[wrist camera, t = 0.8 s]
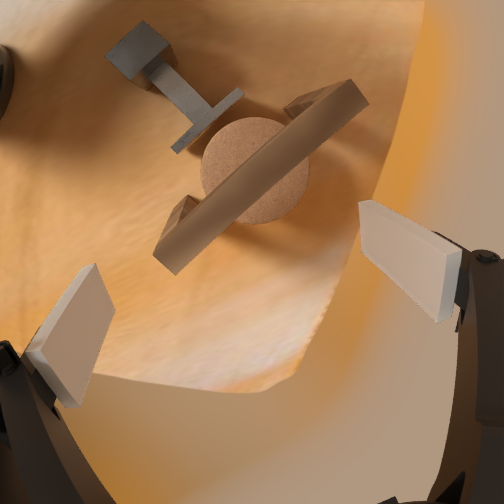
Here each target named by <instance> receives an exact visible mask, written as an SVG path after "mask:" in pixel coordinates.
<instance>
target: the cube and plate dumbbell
mask: <svg viewBox="0 0 504 504" xmlns="http://www.w3.org/2000/svg"><path fill="white" fill-rule="evenodd" d="M105 57H106V58H107V59H108V60H109V61H110V62H111V63H112V64H113V65H114V66H115V67H116V68H117V69H118V70H119V71H120V72H121V73H122V74H123V75H124V76H125V77H127V78H128V79H129V80H130V81H131V82H133V83H134V84H136V85H138V86H139V87H141V88H142V89H144V90H145V91H147V90H148V89H149V88H150V87H151V86H152V85H155V86H156V87H157V88H158V89H159V90H160V91H161V92H162V93H163V94H164V95H166V96H167V97H168V98H169V99H170V100H171V101H172V102H173V103H174V104H175V105H176V106H177V107H178V108H179V109H180V110H181V111H182V112H183V113H184V114H185V115H186V116H187V117H188V118H189V119H190V121H191V122H192V123H193V124H194V125H193V126H192V127H191V128H190V129H189V130H188V131H187V132H186V133H185V134H184V135H183V136H182V137H181V138H180V139H179V140H178V141H177V142H175V143H174V144H173V145H172V146H171V148H172V149H173V150H174V151H175V152H176V153H177V154H179V153H180V152H182V151H183V150H184V149H185V148H186V147H187V146H188V145H189V144H190V143H191V142H192V141H194V140H195V139H196V138H197V137H198V136H199V135H200V134H201V133H202V132H203V131H204V130H205V129H207V128H208V127H209V126H210V125H211V124H212V123H213V122H214V121H215V120H217V119H218V118H219V117H220V116H221V115H222V114H223V113H225V112H226V111H227V110H228V109H229V108H230V107H232V106H233V105H234V104H235V103H236V102H237V101H239V100H240V99H241V98H242V96H243V95H244V93H243V92H242V90H241V89H240V88H239V87H237V88H236V89H235V90H233V91H232V92H231V93H230V94H229V95H227V96H226V97H225V98H224V99H223V100H222V101H220V102H219V103H218V104H217V105H216V106H215V107H213V108H212V107H211V106H210V105H209V104H208V103H207V102H206V101H205V100H204V99H203V98H202V97H201V96H200V95H199V94H198V93H197V92H196V91H195V90H194V89H193V88H192V87H191V86H190V85H189V84H188V83H187V82H186V81H185V80H184V79H183V78H182V77H181V76H180V75H179V74H178V73H177V72H176V71H175V70H174V69H173V68H172V67H173V66H175V65H176V64H177V63H178V61H177V58H176V56H175V54H174V52H173V50H172V48H171V45H170V44H169V43H168V42H167V41H166V40H165V39H164V38H163V37H162V36H161V35H159V34H158V33H157V32H156V31H155V30H154V29H153V28H152V27H150V26H149V25H148V24H147V23H146V22H145V21H144V20H143V21H142V22H141V23H140V24H139V25H137V26H136V27H135V28H134V29H133V30H132V31H131V32H129V33H128V34H127V35H126V36H125V37H124V38H123V39H122V40H121V41H120V42H119V43H117V44H116V45H115V46H114V47H113V48H112V49H111V50H110V51H109V52H108V53H107V54H106V55H105Z"/></svg>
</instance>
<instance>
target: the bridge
mask: <svg viewBox="0 0 504 504" xmlns="http://www.w3.org/2000/svg"><path fill="white" fill-rule="evenodd" d="M368 105H369V103H368V101H367V100H366V98H365V97H364V96H363V94H362V93H361V92H360V90H359V89H358V88H357V86H356V85H355V84H354V82H353V81H352V80H351V79H348V80H345V81H342V82H339V83H336V84H333V85H330V86H327V87H325V88H322V89H319V90H316V91H313V92H311V93H308V94H305V95H303V96H300V97H298V98H297V99H295V100H294V101H293V102H292V103H290V104H289V105H288V106H287V107H285V108H284V109H283V110H284V111H285V112H286V113H287V114H288V115H289V117H290V118H291V119H292V121H291V122H290V123H289V124H287V125H286V126H285V127H284V128H283V129H282V130H280V131H279V132H278V133H277V134H276V135H274V136H273V137H272V138H271V139H270V140H269V141H267V142H266V143H265V144H264V145H263V146H262V147H261V148H259V149H258V150H257V151H256V152H255V153H254V154H253V155H251V156H250V157H249V158H248V159H247V160H246V161H245V162H243V163H242V164H241V165H240V166H239V167H238V168H237V169H236V170H235V171H233V172H232V173H231V174H230V175H229V176H228V177H227V178H226V179H225V180H224V181H223V182H221V183H220V184H219V185H218V186H217V187H216V188H215V189H214V190H213V191H212V192H211V193H210V194H209V195H208V196H206V197H205V198H204V199H203V200H202V201H201V202H200V203H199V204H197V203H196V202H195V201H194V200H193V199H192V198H191V197H190V196H189V195H187V196H186V197H185V198H184V199H183V200H182V201H181V202H180V203H179V204H178V205H177V206H176V207H175V208H174V209H173V211H172V213H171V215H170V217H169V219H168V221H167V223H166V225H165V228H164V230H163V232H162V234H161V236H160V239H159V241H158V243H157V245H156V248H155V250H154V252H153V254H152V255H153V256H154V257H155V258H156V259H157V260H159V261H160V262H161V263H162V264H163V265H164V266H165V267H166V268H167V269H169V270H170V271H171V272H172V273H173V274H174V275H175V276H176V275H177V274H178V273H179V272H180V271H181V270H182V269H183V268H184V267H185V266H186V265H187V264H188V263H189V262H191V261H192V260H193V259H194V258H195V257H196V256H197V255H198V254H199V253H200V252H201V251H202V250H203V249H204V248H206V247H207V246H208V245H209V244H210V243H211V242H212V241H213V240H214V239H215V238H216V237H217V236H219V235H220V234H221V233H222V232H223V231H224V230H225V229H226V228H227V227H228V226H229V225H231V224H232V223H233V222H234V221H235V220H236V219H237V218H238V217H239V216H240V215H242V214H243V213H244V212H245V211H246V210H247V209H248V208H249V207H250V206H252V205H253V204H254V203H255V202H256V201H257V200H258V199H259V198H260V197H262V196H263V195H264V194H265V193H266V192H267V191H268V190H269V189H271V188H272V187H273V186H274V185H275V184H276V183H277V182H279V181H280V180H281V179H282V178H283V177H284V176H285V175H286V174H288V173H289V172H290V171H291V170H292V169H293V168H294V167H296V166H297V165H298V164H299V163H300V162H301V161H303V160H304V159H305V158H306V157H307V156H308V155H310V154H311V153H312V152H313V151H314V150H315V149H317V148H318V147H319V146H320V145H321V144H322V143H324V142H325V141H326V140H327V139H328V138H329V137H331V136H332V135H333V134H334V133H335V132H337V131H338V130H339V129H340V128H341V127H343V126H344V125H345V124H346V123H347V122H348V121H350V120H351V119H352V118H353V117H355V116H356V115H357V114H358V113H359V112H361V111H362V110H363V109H364V108H365V107H367V106H368Z"/></svg>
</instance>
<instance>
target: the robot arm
mask: <svg viewBox="0 0 504 504" xmlns="http://www.w3.org/2000/svg"><path fill="white" fill-rule="evenodd" d="M13 80H14V66H13V61H12V57H11V55H10V53H9V51H8V50H7V49H6V48H5V47H3V46H1V45H0V119H1V117H2V116H3V114H4V112H5V109H6V107H7V105H8V102H9V99H10V96H11V92H12V87H13ZM358 205H359V219H360V237H361V253H362V254H364V255H365V256H366V257H367V258H368V259H369V260H370V261H371V262H372V263H374V264H375V265H376V266H377V267H378V268H379V269H380V270H381V271H382V272H383V273H385V274H386V275H387V276H388V277H389V278H390V279H391V280H392V281H393V282H394V283H395V284H397V285H398V286H399V287H400V288H401V289H402V290H403V291H404V292H405V293H406V294H407V295H408V296H409V297H410V298H411V299H412V300H414V301H415V302H416V303H417V304H418V305H419V306H420V307H421V308H422V309H423V310H424V311H425V312H426V313H427V314H428V315H429V316H430V317H431V318H432V319H433V320H434V321H435V322H436V323H438V322H441V321H443V320H445V319H447V318H450V317H451V316H452V312H453V307H454V303H456V304H457V305H458V306H459V307H460V313H459V318H458V322H457V326H456V330H455V332H458V356H457V370H456V380H455V389H454V397H453V405H452V411H451V418H450V424H449V429H448V435H447V440H446V444H445V449H444V453H443V458H442V462H441V466H440V470H439V473H438V476H437V478H436V481H435V483H434V485H433V487H432V489H431V491H430V493H429V496H428V498H427V501H413V502H404V503H398V501H397V499H396V497H395V496H394V497H392V498H390V499H388V500H385V501H383V502H381V503H378V504H504V259H501V258H500V257H499V256H498V255H497V254H496V253H494V252H491V251H488V250H475V251H472V252H470V251H468V250H467V249H465V248H463V247H462V246H460V245H458V244H457V243H455V242H453V241H452V240H450V239H448V238H446V237H445V236H443V235H441V234H440V233H437V232H434V231H430V230H428V229H426V228H425V227H423V226H421V225H419V224H418V223H416V222H414V221H412V220H410V219H408V218H406V217H405V216H403V215H401V214H399V213H397V212H395V211H393V210H391V209H390V208H387V207H386V206H384V205H381V204H380V203H378V202H375V201H374V200H372V199H370V200H365V201H361V202H358ZM114 313H115V308H114V305H113V303H112V301H111V299H110V296H109V294H108V292H107V290H106V287H105V285H104V282H103V280H102V278H101V275H100V273H99V270H98V268H97V265H96V263H94V264H91V265H87V266H83V267H82V269H81V270H80V271H79V273H78V274H77V275H76V277H75V278H74V279H73V281H72V282H71V283H70V285H69V286H68V287H67V289H66V290H65V292H64V293H63V294H62V296H61V297H60V299H59V300H58V302H57V303H56V304H55V306H54V307H53V309H52V310H51V312H50V313H49V315H48V316H47V318H46V319H45V321H44V322H43V324H42V325H41V326H40V327H39V329H38V330H37V332H36V333H35V336H33V338H32V340H31V342H30V343H29V344H28V346H27V348H26V349H25V351H24V353H23V354H22V356H21V358H19V356H18V355H17V353H16V352H15V350H14V349H13V347H12V345H11V344H10V342H9V341H6V340H4V341H1V342H0V504H116V503H115V501H114V500H113V498H112V497H111V496H110V495H109V493H108V491H107V490H106V489H105V488H104V486H103V485H102V483H101V482H100V480H99V479H98V477H97V476H96V474H95V473H94V471H93V470H92V468H91V467H90V465H89V463H88V462H87V460H86V459H85V457H84V455H83V454H82V452H81V450H80V449H79V447H78V445H77V444H76V442H75V440H74V438H73V436H72V435H71V433H70V431H69V429H68V427H67V426H66V424H65V422H64V420H63V418H62V416H61V414H60V412H59V410H58V409H57V408H56V407H55V406H54V402H55V400H56V397H57V398H58V400H59V401H60V402H61V403H62V405H63V406H64V407H65V408H77V407H81V405H82V401H83V398H84V395H85V392H86V389H87V386H88V383H89V380H90V377H91V374H92V371H93V368H94V366H95V363H96V360H97V357H98V354H99V352H100V349H101V346H102V344H103V341H104V338H105V336H106V333H107V331H108V328H109V325H110V323H111V320H112V318H113V315H114Z"/></svg>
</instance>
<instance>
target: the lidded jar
mask: <svg viewBox="0 0 504 504" xmlns="http://www.w3.org/2000/svg"><path fill="white" fill-rule="evenodd" d="M284 127H285V125H284V124H282V123H280V122H278V121H275V120H272V119H269V118H263V117H248V118H243V119H239V120H237V121H234V122H232V123H230V124H228V125H226V126H225V127H223V128H222V129H221V130H219V131H218V132H217V133H216V134H215V135H214V136H213V138H212V139H211V140H210V142H209V143H208V145H207V147H206V149H205V151H204V154H203V158H202V161H201V181H202V185H203V189H204V191H205V194H206V196H208V195H209V194H210V193H211V192H212V191H213V190H214V189H215V188H216V187H217V186H218V185H219V184H220V183H221V182H223V181H224V180H225V179H226V178H227V177H228V176H229V175H230V174H231V173H232V172H233V171H235V170H236V169H237V168H238V167H239V166H240V165H241V164H242V163H243V162H245V161H246V160H247V159H248V158H249V157H250V156H251V155H253V154H254V153H255V152H256V151H257V150H258V149H259V148H261V147H262V146H263V145H264V144H265V143H266V142H267V141H269V140H270V139H271V138H272V137H273V136H274V135H276V134H277V133H278V132H279V131H280V130H282V129H283V128H284ZM309 172H310V166H309V159H308V156H307V157H306V158H305V159H304V160H303V161H301V162H300V163H299V164H298V165H297V166H296V167H294V168H293V169H292V170H291V171H290V172H289V173H288V174H286V175H285V176H284V177H283V178H282V179H281V180H280V181H279V182H277V183H276V184H275V185H274V186H273V187H272V188H271V189H269V190H268V191H267V192H266V193H265V194H264V195H263V196H262V197H260V198H259V199H258V200H257V201H256V202H255V203H254V204H253V205H252V206H250V207H249V208H248V209H247V210H246V211H245V212H244V213H243V214H242V215H240V216H239V217H238V218H237V219H236V220H235V221H237V222H240V223H244V224H264V223H268V222H272V221H274V220H277V219H279V218H281V217H283V216H284V215H286V214H287V213H288V212H290V211H291V210H292V209H293V208H294V207H295V206H296V205H297V204H298V202H299V201H300V200H301V198H302V196H303V194H304V192H305V190H306V188H307V184H308V180H309Z"/></svg>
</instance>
